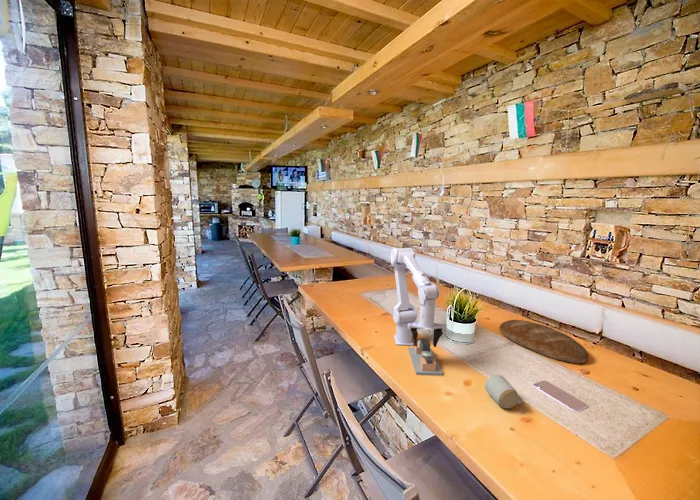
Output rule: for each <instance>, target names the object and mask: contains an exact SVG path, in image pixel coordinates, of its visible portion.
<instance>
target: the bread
mask: <svg viewBox="0 0 700 500" xmlns="http://www.w3.org/2000/svg"><path fill="white" fill-rule="evenodd" d="M498 329H499V331H500V332H501V334H503V336H504V337H505V338H507V339H508V341H509V340H510V341H511V342H513V343H516V344H518V345H519V346H522V347H524V348H525V349H528V350H530V351H533V352H534V353H537V354H540V355H542V356H545V357H548V358H551V359H554V360H557V361H562V362H567V363H572V364H583V363H585V362H587V361H588V359H589V352H588V351H587V349H586V348H585V347H584V346H583V345H582V344H581V343H579V342H578V341H577V340H575V338H572V337H571V336H569V335H568V334H566V333H563V332H562V331H559V330H557V329H554V328H552V327H550V326H546V325H544V324H542V323H541V324H540V323H535V322H532V321H528V320H520V319H510V320H506V321H503V322H502V323H500V325H499V327H498Z"/></svg>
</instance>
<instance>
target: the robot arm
mask: <svg viewBox="0 0 700 500" xmlns="http://www.w3.org/2000/svg"><path fill="white" fill-rule="evenodd" d="M389 256H390V263H391V267H393V272H394V278H395V286H396V294H397V295H396V296H397V303H396V305H395V306H394V307H393V309H392V311H393V312H392V320H393V322H394V323H395V324H396V325H395V334H393V338H394V342H395V345H396V346H415V347H417V342H418V336H419V332H418V330H426V331H431V330H433V339H432V340H433V341H432V346H433V347H434V348H437V344H438V342H439V340H440V338H441V337H442V336H443V331H445V330H446V325H445V324H444V323H436V322H435V310H436V299H439V296H440V290H439V287H438V285H436V284H434V283H433V282H431V280H430V279H429V277H428V275H427V274H426V272H425V271H423V270H421V269H420V267H419V264H418V263H417V260H416V252H415V250H414V248H413V247H399V248H397V247H396V248H395V247H394V248H392V249H391V251H390V255H389ZM406 268H408V270H409V271H410V273H411V274H412V277H411V280H412V281H413V283H414V284H415V286H416V288H417V295H418V303H419V304H420V305H419V318H418V314H417V311H416V308H415V306H414V304H412V303H411V302H410V298H409V291H408V283H407V272H406ZM417 318H418V319H419V320H418V321H417ZM416 321H417V322H416ZM412 338H413V339H412Z"/></svg>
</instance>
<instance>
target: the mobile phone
mask: <svg viewBox="0 0 700 500" xmlns="http://www.w3.org/2000/svg"><path fill="white" fill-rule="evenodd" d="M532 387H533V388H534V389H536V390H538V391H540V392H541V393H542V394H544V395H546V396H547V397H549V398H551V400H554V401H555V402H556V403H558V404H560V405H562V406H563V405H564V406H563V407H565V408H567V409H568V408H569V410H570V409H571V410H570V411H572V410H573V411H572V412H574V411H579V410H582V409H584V410H586V409H588V408H589V405H588V404H587V403H585V402H584V401H582V400H580V399H578V397H575V396H574V395H572V394H570V393H568V392H567V391H565V390H563V389H561V388H559V387H558V386H556V385H554V384H553V383H550V382H549V381H547V380H541V381H538V382H535V383H533V384H532ZM587 407H588V408H587ZM585 408H586V409H585ZM582 411H583V410H582ZM579 412H580V411H579Z"/></svg>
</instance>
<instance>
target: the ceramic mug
mask: <svg viewBox="0 0 700 500" xmlns="http://www.w3.org/2000/svg"><path fill="white" fill-rule="evenodd" d="M484 389H485V391H486V393H487V394H489V396H490V397H491V398H492V399H493V400H494V401H495V402H496V404H497V405H499V407H501V408H503V409H512V408H514V407H515V406H516V405H521V404H522V402H523V398H522V396H520V394H519V393H518V391H517V390H516V389H515V388H514V387H513V386H512V384H510V382H509V381H508V380H507V379H506V378H505V377H504V376H503V375H501V374H493V375H491V376H489V377H488V378H487V379H486V381H485V384H484Z"/></svg>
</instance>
